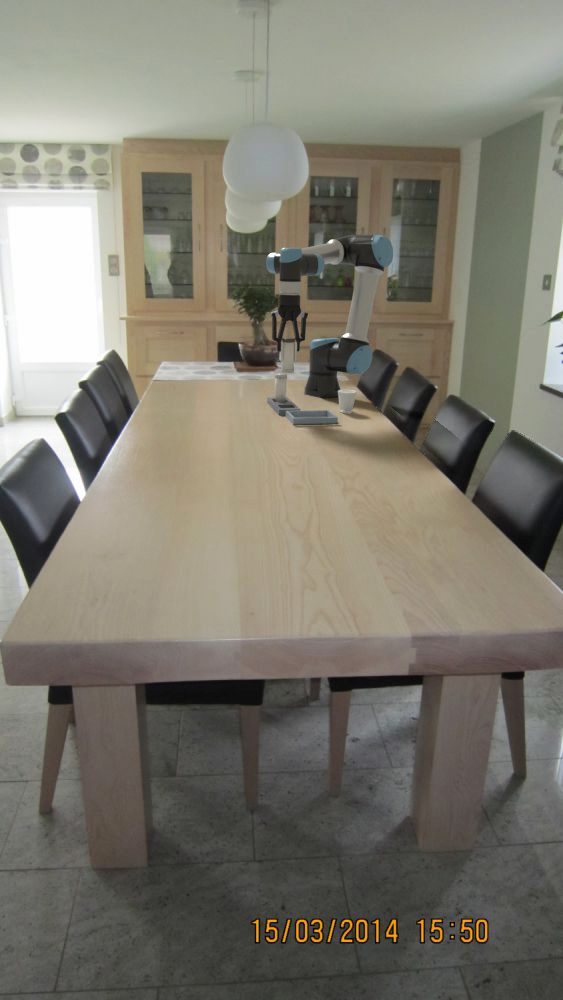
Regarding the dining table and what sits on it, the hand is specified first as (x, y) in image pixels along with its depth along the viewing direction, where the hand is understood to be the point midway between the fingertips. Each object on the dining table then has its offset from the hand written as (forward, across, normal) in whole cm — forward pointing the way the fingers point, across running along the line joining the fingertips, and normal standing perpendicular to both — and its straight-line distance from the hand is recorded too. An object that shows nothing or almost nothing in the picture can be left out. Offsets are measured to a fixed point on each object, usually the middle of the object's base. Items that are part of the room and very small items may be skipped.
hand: (287, 360), depth 271 cm
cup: (+20, -23, 0) cm, 30 cm away
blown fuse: (+4, 0, 0) cm, 4 cm away
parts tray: (+19, -6, +14) cm, 24 cm away
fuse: (+19, 0, -11) cm, 22 cm away
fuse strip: (+19, 0, -5) cm, 20 cm away
